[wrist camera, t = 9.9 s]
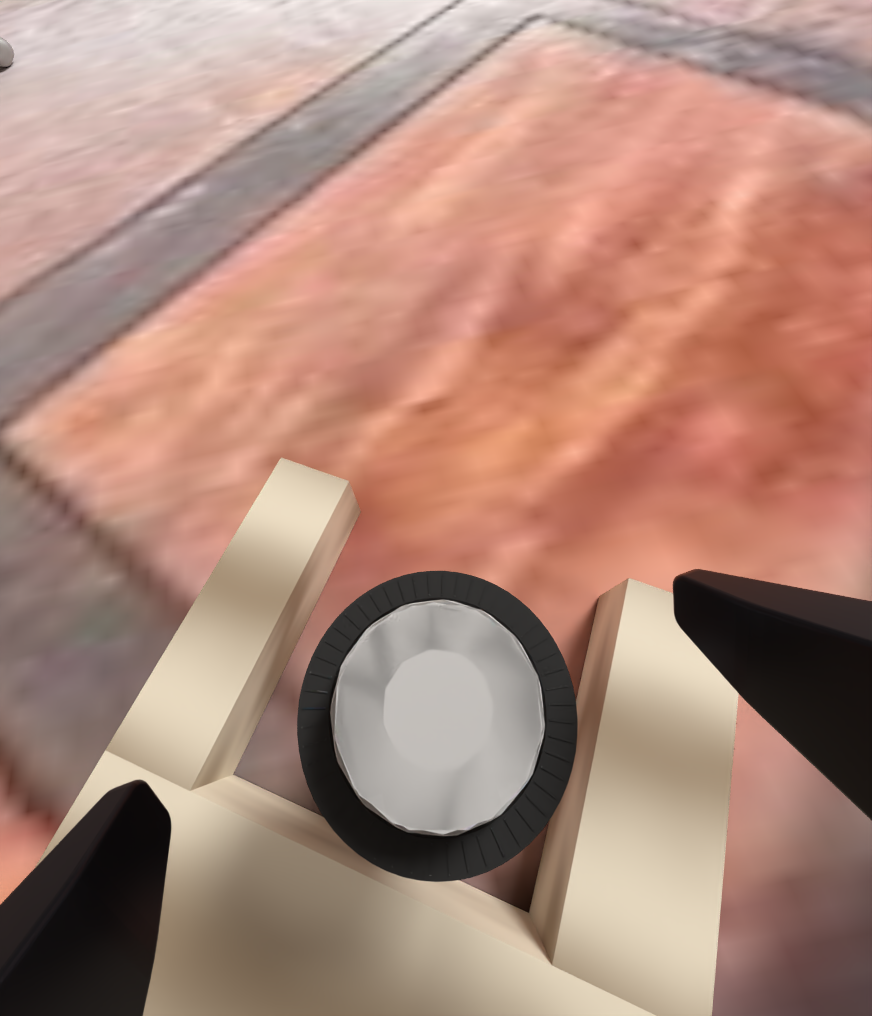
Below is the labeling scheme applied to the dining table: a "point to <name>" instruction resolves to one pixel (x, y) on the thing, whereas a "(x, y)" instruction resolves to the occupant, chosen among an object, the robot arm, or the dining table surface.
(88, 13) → the dining table surface
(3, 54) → the elephant statuette
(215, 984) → the notched board
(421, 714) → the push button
